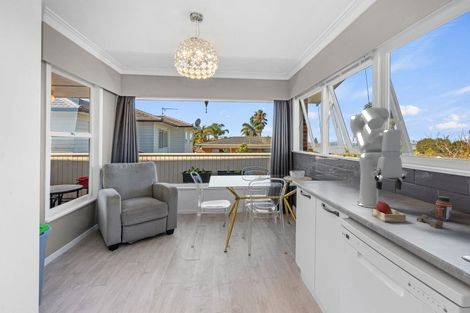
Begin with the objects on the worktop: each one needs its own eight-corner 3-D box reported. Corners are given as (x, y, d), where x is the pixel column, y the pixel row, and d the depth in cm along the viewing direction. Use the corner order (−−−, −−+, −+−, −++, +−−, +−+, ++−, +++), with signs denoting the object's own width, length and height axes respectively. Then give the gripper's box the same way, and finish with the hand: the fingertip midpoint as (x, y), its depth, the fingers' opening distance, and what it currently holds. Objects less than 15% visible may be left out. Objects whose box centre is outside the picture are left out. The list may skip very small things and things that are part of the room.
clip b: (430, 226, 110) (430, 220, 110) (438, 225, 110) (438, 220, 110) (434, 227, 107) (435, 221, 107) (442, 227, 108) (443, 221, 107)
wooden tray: (371, 215, 125) (372, 209, 125) (391, 215, 125) (391, 208, 125) (384, 222, 115) (385, 214, 115) (405, 222, 115) (405, 214, 115)
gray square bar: (417, 218, 119) (417, 216, 119) (420, 218, 119) (420, 216, 119) (439, 227, 107) (439, 224, 107) (441, 227, 107) (442, 224, 107)
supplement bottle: (431, 218, 121) (433, 195, 120) (439, 217, 123) (440, 194, 122) (445, 222, 115) (447, 198, 115) (453, 220, 117) (455, 197, 117)
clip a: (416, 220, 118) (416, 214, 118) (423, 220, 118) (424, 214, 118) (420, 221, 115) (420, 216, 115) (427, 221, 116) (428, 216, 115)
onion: (382, 216, 124) (374, 201, 127) (394, 212, 121) (385, 197, 123) (380, 218, 120) (371, 203, 122) (392, 214, 116) (383, 199, 119)
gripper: (402, 153, 122) (400, 187, 124) (368, 154, 122) (366, 187, 124) (413, 155, 115) (411, 190, 117) (377, 155, 114) (375, 191, 116)
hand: (388, 189), depth 120 cm, fingers open, 9 cm apart
